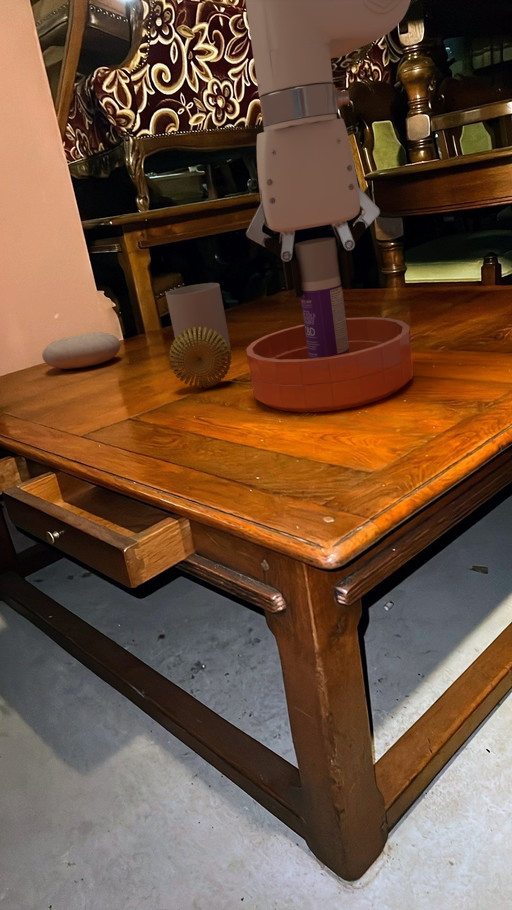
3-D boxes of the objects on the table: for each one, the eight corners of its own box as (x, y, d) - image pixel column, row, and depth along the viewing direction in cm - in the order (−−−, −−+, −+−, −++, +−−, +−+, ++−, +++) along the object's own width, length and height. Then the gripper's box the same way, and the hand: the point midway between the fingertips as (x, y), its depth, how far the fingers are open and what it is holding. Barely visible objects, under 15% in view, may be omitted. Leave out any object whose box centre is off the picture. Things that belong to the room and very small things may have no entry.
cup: (203, 361, 104) (190, 295, 100) (167, 359, 109) (154, 295, 106) (241, 346, 109) (230, 282, 105) (206, 344, 115) (194, 283, 111)
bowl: (389, 355, 90) (385, 309, 88) (435, 395, 73) (431, 339, 71) (249, 380, 90) (241, 335, 88) (261, 427, 73) (252, 372, 71)
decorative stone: (38, 378, 111) (30, 348, 109) (57, 364, 119) (49, 335, 118) (115, 367, 110) (107, 336, 108) (128, 353, 118) (122, 324, 116)
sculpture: (236, 377, 92) (225, 318, 89) (236, 386, 88) (224, 324, 86) (177, 387, 93) (165, 328, 90) (174, 396, 89) (161, 335, 86)
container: (304, 379, 80) (285, 246, 75) (324, 367, 84) (307, 239, 78) (339, 380, 78) (322, 243, 72) (358, 367, 81) (344, 235, 75)
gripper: (372, 101, 74) (387, 274, 81) (215, 128, 74) (244, 299, 80) (390, 92, 67) (405, 282, 74) (217, 122, 67) (248, 310, 74)
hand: (321, 289), depth 77 cm, fingers closed on container, 4 cm apart
